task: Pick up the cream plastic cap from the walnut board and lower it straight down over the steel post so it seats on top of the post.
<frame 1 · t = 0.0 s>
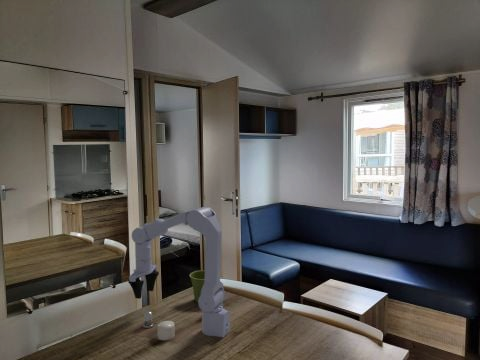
hand: (144, 294, 139), 10 cm above the table, tool pointing down, fingers open, 7 cm apart
post board: (159, 334, 130), on the table
plant pot: (203, 300, 159), on the table
cap: (166, 336, 126), point 1 cm above the table, touching post board
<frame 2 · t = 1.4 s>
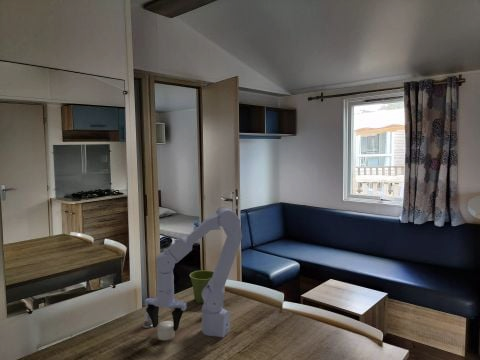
hand: (165, 328, 126), 4 cm above the table, tool pointing down, fingers open, 7 cm apart
nothing on the table moved.
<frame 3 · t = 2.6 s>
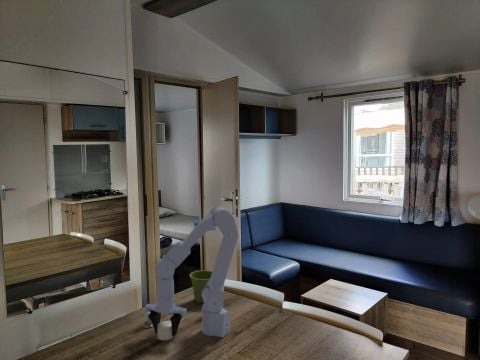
hand: (166, 333, 126), 2 cm above the table, tool pointing down, fingers closed on cap, 6 cm apart
cap: (166, 336, 126), point 1 cm above the table, touching gripper, post board
everything else where it was.
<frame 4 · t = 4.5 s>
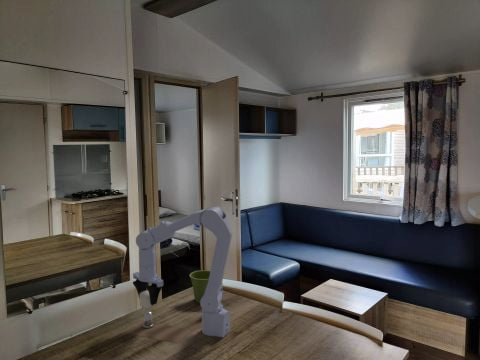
hand: (148, 301, 133), 10 cm above the table, tool pointing down, fingers closed on cap, 6 cm apart
cap: (148, 304, 133), point 9 cm above the table, touching gripper
everything else where it was.
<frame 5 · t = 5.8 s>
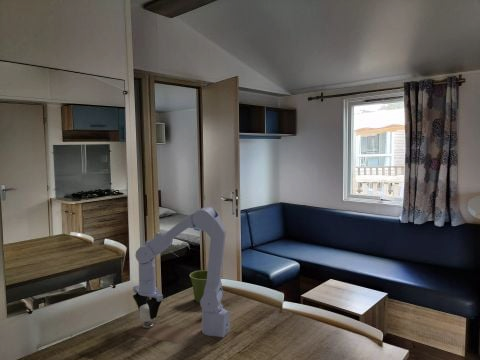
hand: (148, 315, 133), 5 cm above the table, tool pointing down, fingers closed on cap, 6 cm apart
cap: (147, 317, 133), point 4 cm above the table, touching gripper
everything else where it was.
when the fingers open (5 cm above the table, at t = 6.8 s): cap drops 1 cm, resting on post board.
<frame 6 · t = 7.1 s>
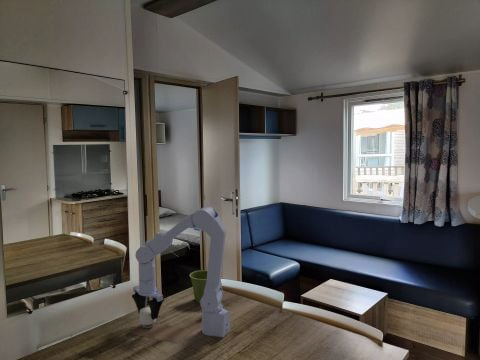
hand: (148, 315, 133), 5 cm above the table, tool pointing down, fingers open, 7 cm apart
cap: (147, 321, 133), point 3 cm above the table, touching post board
everything else where it was.
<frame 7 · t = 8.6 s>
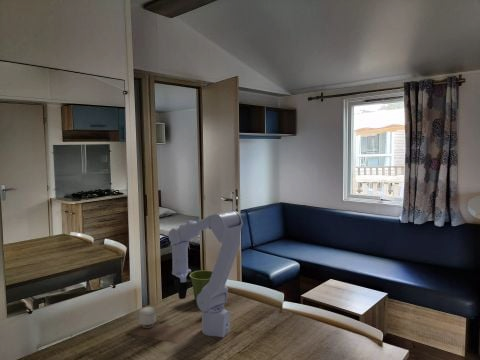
hand: (180, 294, 141), 9 cm above the table, tool pointing down, fingers open, 7 cm apart
nothing on the table moved.
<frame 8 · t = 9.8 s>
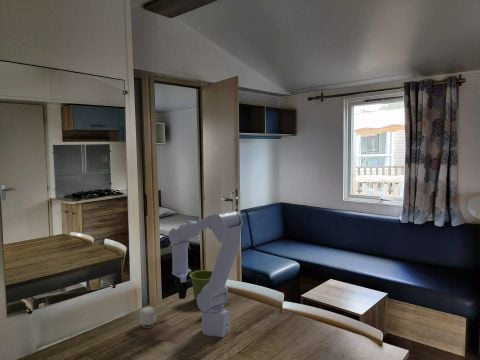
hand: (180, 294, 141), 9 cm above the table, tool pointing down, fingers open, 7 cm apart
nothing on the table moved.
at the end: cap 0.1 cm from the target spot on the post board, point 2.8 cm above the post board's base; cap tilted 1°; the gripper is holding nothing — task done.
